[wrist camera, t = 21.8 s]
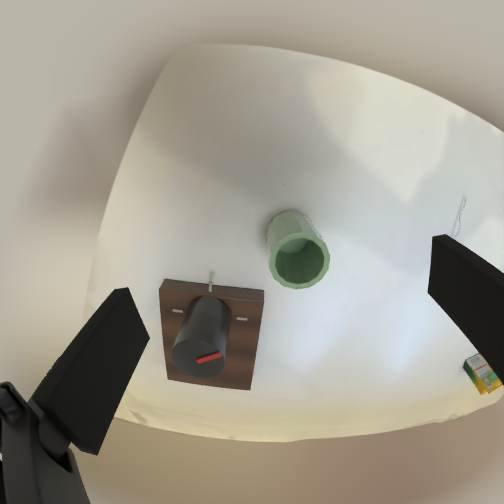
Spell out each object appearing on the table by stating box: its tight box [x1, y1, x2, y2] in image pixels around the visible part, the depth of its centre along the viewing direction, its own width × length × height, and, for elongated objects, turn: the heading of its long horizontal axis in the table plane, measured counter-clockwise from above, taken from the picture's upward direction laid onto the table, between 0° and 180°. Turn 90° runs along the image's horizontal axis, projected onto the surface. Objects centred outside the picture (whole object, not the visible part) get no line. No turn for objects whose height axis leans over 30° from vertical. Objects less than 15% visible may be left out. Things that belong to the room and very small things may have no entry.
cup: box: [267, 211, 330, 289], centre depth 31 cm, size 6×6×9 cm
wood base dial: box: [159, 279, 264, 390], centre depth 40 cm, size 20×14×3 cm
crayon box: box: [463, 353, 503, 395], centre depth 40 cm, size 7×3×12 cm, turn 103°
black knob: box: [171, 296, 232, 378], centre depth 33 cm, size 6×6×9 cm
